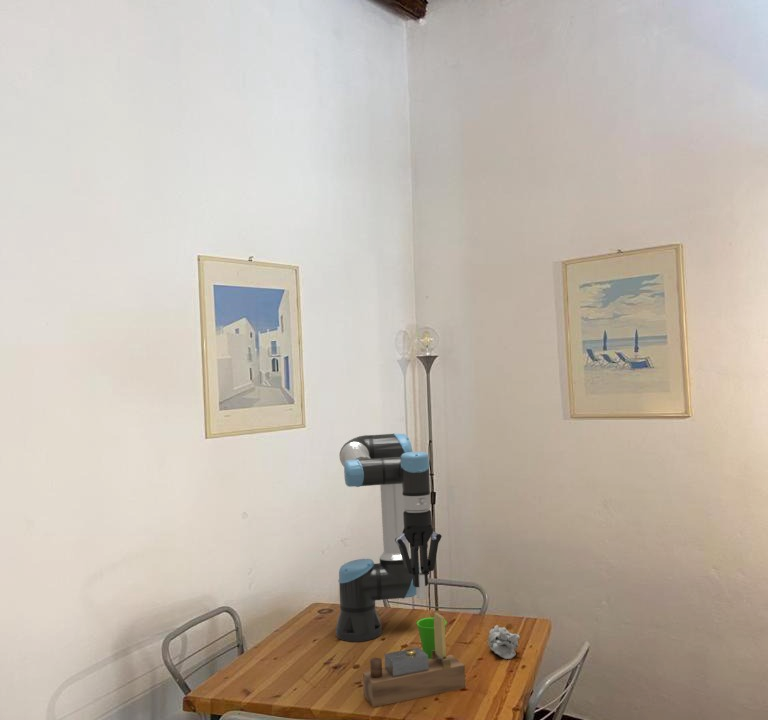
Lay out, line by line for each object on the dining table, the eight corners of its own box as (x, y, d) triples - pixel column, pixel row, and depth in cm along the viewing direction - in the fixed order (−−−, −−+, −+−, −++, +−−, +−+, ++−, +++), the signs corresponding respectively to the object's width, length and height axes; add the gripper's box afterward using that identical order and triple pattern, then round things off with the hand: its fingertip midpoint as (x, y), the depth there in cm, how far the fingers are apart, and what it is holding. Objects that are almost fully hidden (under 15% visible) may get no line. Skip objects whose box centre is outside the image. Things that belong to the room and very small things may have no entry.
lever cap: (385, 669, 190) (384, 651, 190) (419, 662, 194) (418, 645, 194) (393, 677, 184) (392, 659, 185) (428, 670, 188) (427, 652, 188)
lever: (434, 657, 195) (432, 612, 195) (438, 656, 196) (436, 611, 196) (443, 665, 189) (441, 618, 190) (448, 664, 190) (446, 618, 190)
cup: (447, 666, 205) (445, 628, 205) (415, 665, 206) (414, 627, 207) (450, 654, 213) (448, 617, 214) (420, 653, 215) (418, 616, 216)
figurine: (505, 628, 206) (501, 607, 218) (484, 653, 208) (480, 631, 220) (528, 645, 207) (522, 623, 218) (506, 670, 208) (502, 647, 220)
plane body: (363, 694, 189) (362, 656, 189) (452, 676, 198) (450, 640, 198) (373, 707, 181) (371, 667, 182) (465, 687, 190) (463, 649, 191)
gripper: (399, 514, 186) (403, 606, 185) (445, 509, 191) (449, 598, 190) (389, 510, 193) (393, 598, 192) (433, 505, 198) (437, 591, 197)
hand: (421, 598), depth 191 cm, fingers closed
